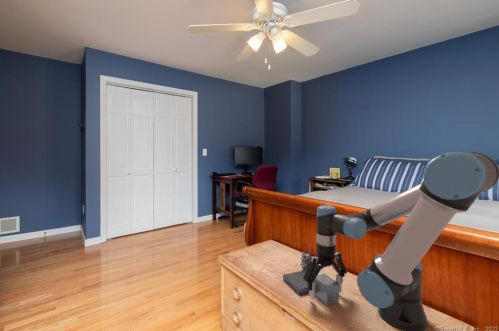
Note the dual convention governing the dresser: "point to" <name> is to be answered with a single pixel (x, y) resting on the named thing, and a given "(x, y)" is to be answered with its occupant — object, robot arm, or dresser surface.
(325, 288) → the block
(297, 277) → the steel plate
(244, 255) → the dresser surface
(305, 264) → the grey red bumpy cluster
